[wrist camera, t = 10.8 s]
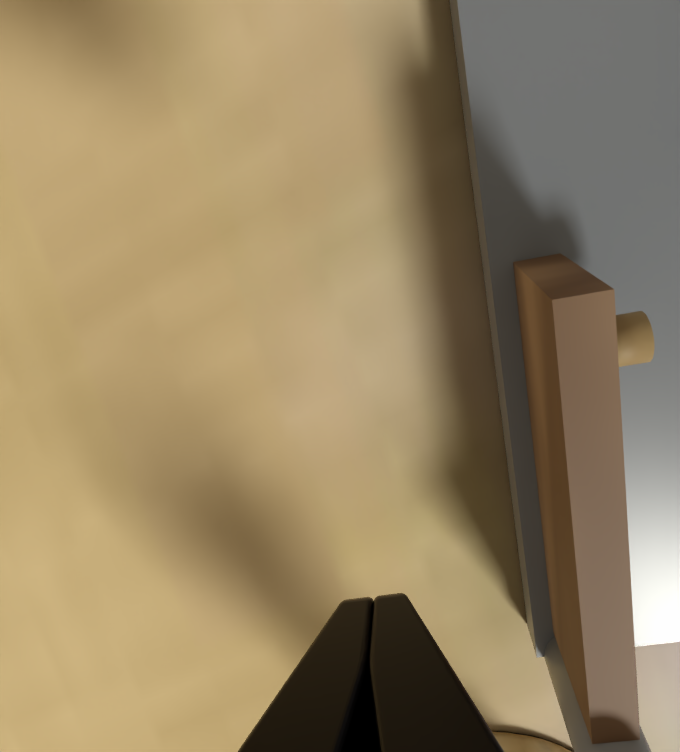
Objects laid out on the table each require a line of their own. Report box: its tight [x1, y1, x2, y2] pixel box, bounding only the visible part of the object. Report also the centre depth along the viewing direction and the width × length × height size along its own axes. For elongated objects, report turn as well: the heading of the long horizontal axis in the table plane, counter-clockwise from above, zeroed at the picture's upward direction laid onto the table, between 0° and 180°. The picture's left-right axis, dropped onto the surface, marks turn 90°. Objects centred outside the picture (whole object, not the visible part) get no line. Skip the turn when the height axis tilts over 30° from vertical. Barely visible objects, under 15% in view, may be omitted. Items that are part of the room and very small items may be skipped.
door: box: [513, 253, 654, 744], centre depth 14 cm, size 2×10×3 cm, turn 11°
